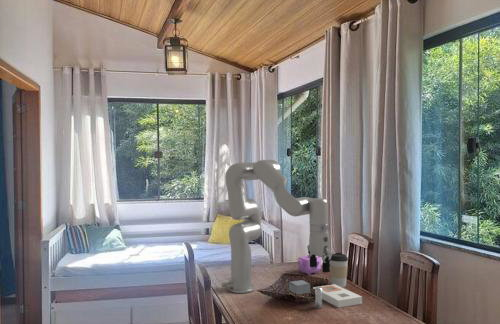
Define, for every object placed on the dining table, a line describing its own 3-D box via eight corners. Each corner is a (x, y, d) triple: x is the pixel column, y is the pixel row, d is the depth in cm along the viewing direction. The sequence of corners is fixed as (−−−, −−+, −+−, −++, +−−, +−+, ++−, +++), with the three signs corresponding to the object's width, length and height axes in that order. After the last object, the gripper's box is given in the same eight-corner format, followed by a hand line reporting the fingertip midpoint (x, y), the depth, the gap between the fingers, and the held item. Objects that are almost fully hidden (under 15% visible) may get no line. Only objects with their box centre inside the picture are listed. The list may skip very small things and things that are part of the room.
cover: (296, 299, 193) (296, 285, 193) (288, 294, 199) (288, 281, 199) (310, 297, 196) (310, 283, 196) (302, 292, 202) (302, 279, 202)
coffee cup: (348, 288, 209) (348, 256, 209) (329, 287, 211) (328, 255, 211) (348, 282, 218) (347, 252, 218) (329, 281, 220) (329, 251, 219)
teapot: (305, 278, 225) (305, 259, 225) (289, 273, 236) (289, 255, 236) (331, 273, 235) (331, 255, 235) (314, 268, 246) (314, 250, 246)
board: (338, 307, 182) (338, 300, 182) (312, 294, 200) (312, 287, 200) (362, 303, 187) (362, 296, 187) (334, 290, 205) (334, 283, 205)
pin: (317, 308, 181) (317, 289, 181) (314, 306, 184) (314, 287, 183) (323, 307, 182) (323, 288, 182) (319, 305, 185) (319, 286, 185)
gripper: (338, 230, 176) (339, 273, 176) (315, 224, 192) (316, 264, 192) (322, 231, 173) (323, 275, 173) (300, 226, 189) (301, 266, 189)
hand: (319, 269), depth 182 cm, fingers open, 9 cm apart
